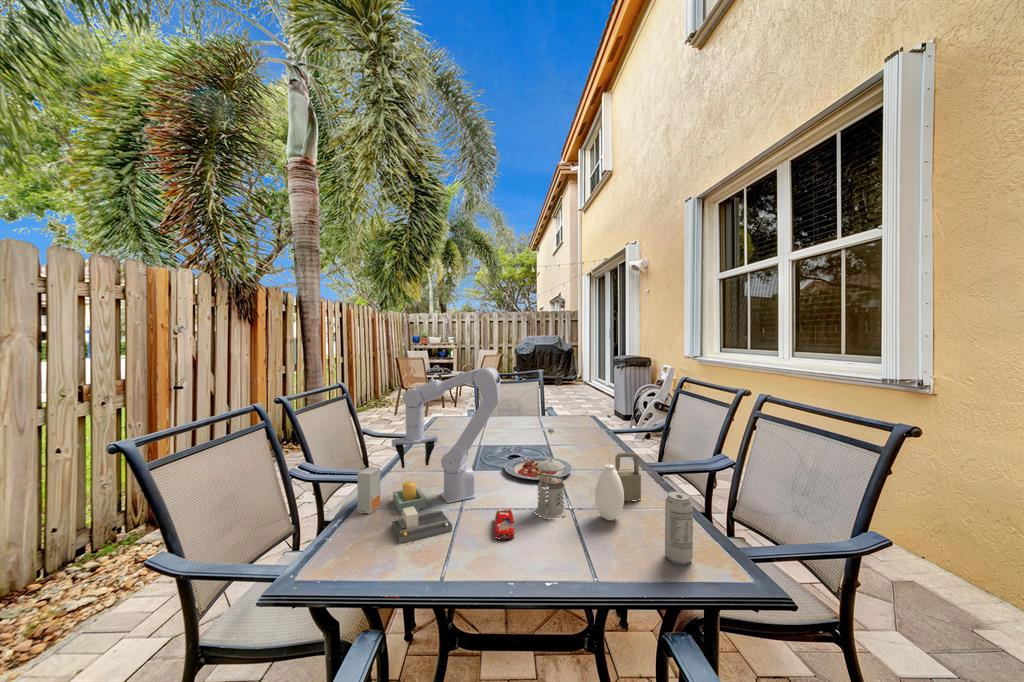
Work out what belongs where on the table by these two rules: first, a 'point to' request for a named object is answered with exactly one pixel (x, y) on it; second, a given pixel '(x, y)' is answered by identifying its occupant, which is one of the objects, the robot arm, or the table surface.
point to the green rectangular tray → (417, 503)
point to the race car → (504, 524)
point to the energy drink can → (679, 527)
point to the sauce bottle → (609, 493)
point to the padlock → (630, 477)
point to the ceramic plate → (534, 467)
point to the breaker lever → (410, 517)
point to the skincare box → (368, 490)
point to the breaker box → (422, 527)
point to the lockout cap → (409, 491)
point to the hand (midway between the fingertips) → (415, 465)
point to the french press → (551, 490)
